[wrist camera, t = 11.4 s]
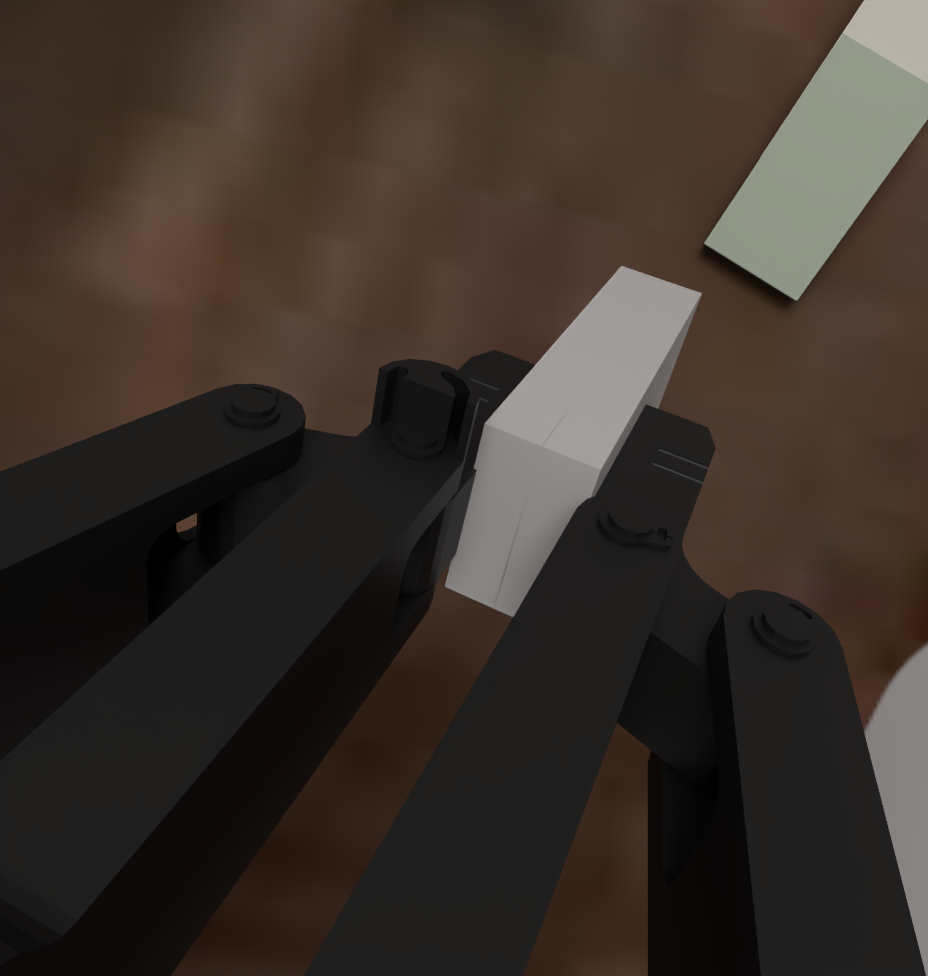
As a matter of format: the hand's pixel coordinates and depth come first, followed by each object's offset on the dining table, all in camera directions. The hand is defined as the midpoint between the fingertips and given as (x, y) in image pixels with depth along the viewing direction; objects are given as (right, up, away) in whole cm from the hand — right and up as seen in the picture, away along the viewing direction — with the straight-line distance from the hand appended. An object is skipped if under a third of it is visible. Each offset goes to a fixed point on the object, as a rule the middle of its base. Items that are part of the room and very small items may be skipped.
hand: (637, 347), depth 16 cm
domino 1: (+10, +8, +25) cm, 28 cm away
